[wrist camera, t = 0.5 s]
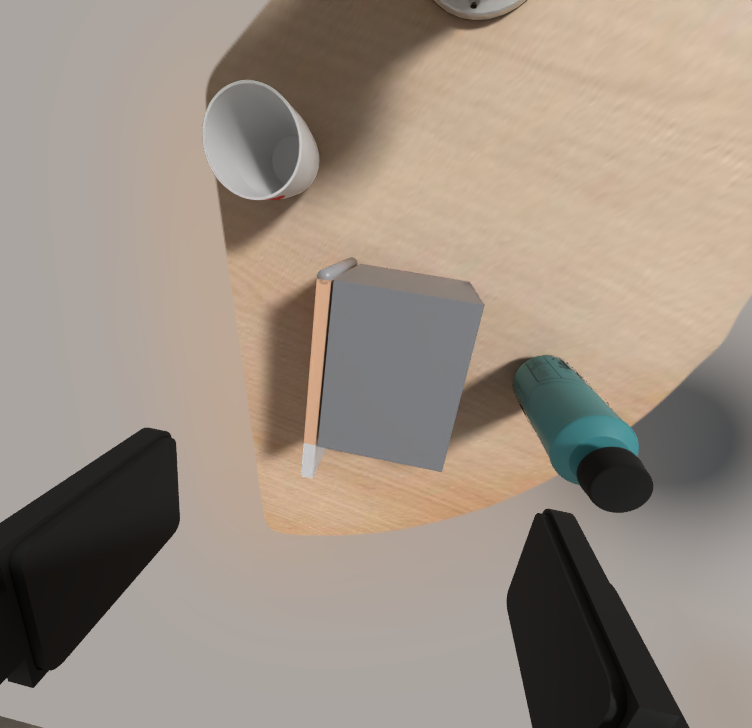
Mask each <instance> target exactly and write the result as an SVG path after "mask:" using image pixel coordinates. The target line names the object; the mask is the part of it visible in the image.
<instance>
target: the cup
mask: <svg viewBox="0 0 752 728" xmlns="http://www.w3.org/2000/svg"><path fill="white" fill-rule="evenodd" d="M202 140H203V147H204V152H205V156H206V158H207V161H208V164H209V166H210V168H211V170H212V171H213V173H214V175H215V176H216V177H217V179H218V180H219V181H220V182H221V183H222V184H223V185H224V186H225V187H226V188H227V189H228V190H230V191H231V192H233V193H234V194H236V195H238V196H240V197H243V198H246V199H251V200H281V199H286V198H289V197H292V196H295V195H298V194H300V193H302V192H304V191H305V190H307V189H308V188H309V187H310V186H311V184H312V183H313V181H314V180H315V178H316V176H317V173H318V169H319V152H318V147H317V144H316V142H315V140H314V138H313V136H312V134H311V132H310V130H309V128H308V126H307V124H306V123H305V121H304V120H303V119H302V117H301V116H300V115H299V114H298V113H297V112H296V111H295V109H294V108H293V107H292V106H291V105H290V104H289V103H288V102H287V101H286V99H285V98H284V97H283V96H282V95H281V94H280V93H279V92H277V91H276V90H275V89H273V88H272V87H270V86H269V85H267V84H264V83H262V82H259V81H254V80H240V81H236V82H233V83H230V84H228V85H227V86H225V87H224V88H222V89H221V90H220V91H219V92H218V93H217V94H216V95H215V96H214V97H213V99H212V100H211V102H210V104H209V106H208V108H207V110H206V113H205V116H204V121H203V128H202Z"/></svg>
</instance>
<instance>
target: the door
mask: <svg viewBox="0 0 752 728" xmlns="http://www.w3.org/2000/svg"><path fill="white" fill-rule="evenodd" d="M356 266H357V260H356V259H355V258H353V257H351V258H348V259H346V260H343V261H341V262H339V263H336V264H334V265H332V266H329V267H327V268H325V269H322V270H320V271H319V272H318V274H317V283H316V295H315V308H314V320H313V333H312V345H311V358H310V371H309V383H308V396H307V408H306V421H305V433H304V446H303V459H302V471H301V476H304V477H309V478H313V476H314V474H315V472H316V470H317V468H318V466H319V463H320V461H321V459H322V457H323V455H324V453H325V451H326V448H322V447H318V437H319V427H320V417H321V406H322V396H323V386H324V375H325V365H326V355H327V344H328V334H329V324H330V313H331V303H332V293H333V282H334V279H336V278H337V277H339V276H341V275H343V274H344V273H346V272H348V271H349V270H351V269H353V268H355V267H356Z"/></svg>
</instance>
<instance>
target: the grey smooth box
mask: <svg viewBox="0 0 752 728" xmlns="http://www.w3.org/2000/svg"><path fill="white" fill-rule="evenodd" d="M483 309H484V304H483V302H482V300H481V299H480V297H479V296H478V294H477V293H476V291H475V289H474V288H473V286H472V285H471V283H470V282H467V281H461V280H455V279H449V278H443V277H437V276H431V275H424V274H418V273H412V272H406V271H400V270H394V269H388V268H382V267H376V266H370V265H363V264H360V265H358V266H356V267H355V268H353V269H351V270H349V271H348V272H346V273H344V274H343V275H341V276H339V277H337V278H336V279H334V282H333V293H332V303H331V313H330V324H329V334H328V344H327V355H326V365H325V375H324V386H323V396H322V406H321V417H320V427H319V437H318V447H322V448H327V449H332V450H337V451H342V452H347V453H351V454H356V455H361V456H366V457H371V458H376V459H381V460H385V461H390V462H395V463H400V464H405V465H410V466H415V467H419V468H424V469H429V470H434V471H439V472H442V469H443V465H444V461H445V457H446V454H447V450H448V446H449V442H450V438H451V434H452V430H453V426H454V422H455V418H456V414H457V410H458V406H459V403H460V399H461V395H462V391H463V387H464V383H465V379H466V375H467V371H468V367H469V363H470V359H471V356H472V352H473V348H474V344H475V340H476V336H477V332H478V328H479V324H480V320H481V316H482V312H483Z"/></svg>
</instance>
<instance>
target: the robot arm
mask: <svg viewBox="0 0 752 728" xmlns="http://www.w3.org/2000/svg"><path fill="white" fill-rule="evenodd" d="M434 1H435V2H436V3H437V4H438V5H439V6H440V7H442V8H443V9H444V10H446V11H447V12H449V13H451V14H453V15H455V16H458V17H460V18H465V19H470V20H484V19H491V18H494V17H498V16H501V15H504V14H506V13H508V12H510V11H511V10H513V9H515V8H517V7H519V6H520V5H521V4H522V3H524V2H525V1H526V0H434ZM472 5H476V9H472V8H470V7H471V6H472ZM178 494H179V492H178V472H177V453H176V442H175V440H174V439H173V438H171V435H170V433H169V432H167V431H162V430H157V429H152V428H143V429H141V430H140V431H138V432H137V433H135V434H134V435H132V436H131V437H129V438H128V439H126V440H125V441H123V442H122V443H120V444H118V445H117V446H116V447H114V448H112V449H111V450H110V451H108V452H106V453H105V454H103V455H102V456H100V457H99V458H97V459H96V460H94V461H93V462H91V463H90V464H88V465H87V466H85V467H84V468H82V469H81V470H79V471H78V472H76V473H75V474H73V475H72V476H70V477H69V478H67V479H66V480H65V481H63V482H61V483H60V484H58V485H57V486H55V487H54V488H52V489H51V490H49V491H48V492H46V493H45V494H43V495H42V496H40V497H39V498H37V499H36V500H34V501H33V502H31V503H30V504H28V505H27V506H25V507H24V508H22V509H21V510H19V511H18V512H16V513H14V514H13V515H12V516H10V517H8V518H7V519H5V520H4V521H3V522H1V523H0V684H1V683H2V682H3V681H4V680H5V679H6V678H8V681H10V682H13V683H17V684H20V685H24V686H28V687H31V688H34V687H35V686H36V684H37V683H38V682H39V681H40V680H41V679H42V678H43V677H44V675H45V674H46V673H47V672H48V671H49V670H54V669H56V668H57V667H58V666H60V665H61V664H62V663H63V662H64V661H65V660H66V658H67V657H68V656H69V655H70V654H71V653H72V651H73V650H74V649H75V648H76V647H77V646H78V645H79V643H80V642H81V641H82V640H83V639H84V638H85V636H86V635H87V634H88V633H89V632H90V631H91V629H92V628H93V627H94V626H95V625H96V624H97V622H98V621H99V620H100V619H101V618H102V617H103V616H104V614H105V613H106V612H107V611H108V610H109V609H110V607H111V606H112V605H113V604H114V603H115V602H116V600H117V599H118V598H119V597H120V596H121V595H122V593H123V592H124V591H125V590H126V589H127V588H128V587H129V585H130V584H131V583H132V582H133V581H134V580H135V578H136V577H137V576H138V575H139V574H140V573H141V571H142V570H143V569H144V568H145V567H146V566H147V565H148V563H149V562H150V561H151V560H152V559H153V558H154V556H155V555H156V554H157V553H158V551H160V549H161V548H162V547H163V546H164V545H165V544H166V543H167V541H168V540H169V539H170V538H171V537H172V535H173V534H174V533H175V532H176V530H177V528H178V525H179V521H180V512H179V495H178ZM507 610H508V615H509V620H510V624H511V629H512V633H513V638H514V643H515V648H516V653H517V657H518V661H519V667H520V671H521V676H522V681H523V686H524V690H525V695H526V699H527V704H528V709H529V714H530V718H531V723H532V728H689V726H688V724H687V723H686V720H685V718H684V717H683V715H682V713H681V711H680V709H679V707H678V705H677V704H676V702H675V700H674V698H673V696H672V694H671V692H670V690H669V689H668V687H667V685H666V683H665V681H664V679H663V678H662V675H661V674H660V672H659V670H658V668H657V666H656V664H655V663H654V660H653V659H652V657H651V655H650V653H649V651H648V649H647V647H646V645H645V644H644V642H643V640H642V638H641V636H640V634H639V632H638V631H637V629H636V627H635V625H634V623H633V621H632V619H631V617H630V615H629V614H628V612H627V610H626V608H625V606H624V604H623V602H622V601H621V599H620V597H619V595H618V593H617V591H616V590H615V588H614V587H613V586H612V585H611V584H610V583H609V581H608V579H607V577H606V575H605V573H604V571H603V569H602V567H601V566H600V564H599V562H598V560H597V558H596V556H595V554H594V552H593V550H592V548H591V547H590V545H589V543H588V541H587V539H586V537H585V535H584V533H583V531H582V530H581V528H580V526H579V524H578V522H577V520H576V518H575V517H574V516H573V514H571V513H567V512H562V511H557V510H552V509H545V510H544V511H543V513H542V514H540V513H537V514H536V515H535V517H534V520H533V523H532V526H531V528H530V531H529V534H528V537H527V540H526V542H525V545H524V548H523V551H522V554H521V556H520V559H519V562H518V565H517V568H516V570H515V574H514V576H513V579H512V582H511V584H510V587H509V590H508V594H507ZM0 728H42V727H38V726H34V725H31V724H27V723H24V722H20V721H16V720H13V719H9V718H5V717H1V716H0Z"/></svg>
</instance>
